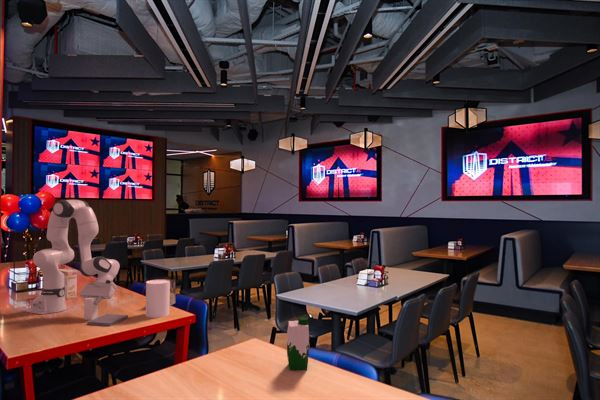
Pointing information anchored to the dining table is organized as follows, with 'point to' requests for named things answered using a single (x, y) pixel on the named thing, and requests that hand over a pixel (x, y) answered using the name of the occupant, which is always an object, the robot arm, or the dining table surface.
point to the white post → (90, 308)
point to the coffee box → (172, 292)
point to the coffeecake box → (70, 283)
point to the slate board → (107, 319)
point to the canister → (157, 298)
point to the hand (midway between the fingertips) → (90, 304)
